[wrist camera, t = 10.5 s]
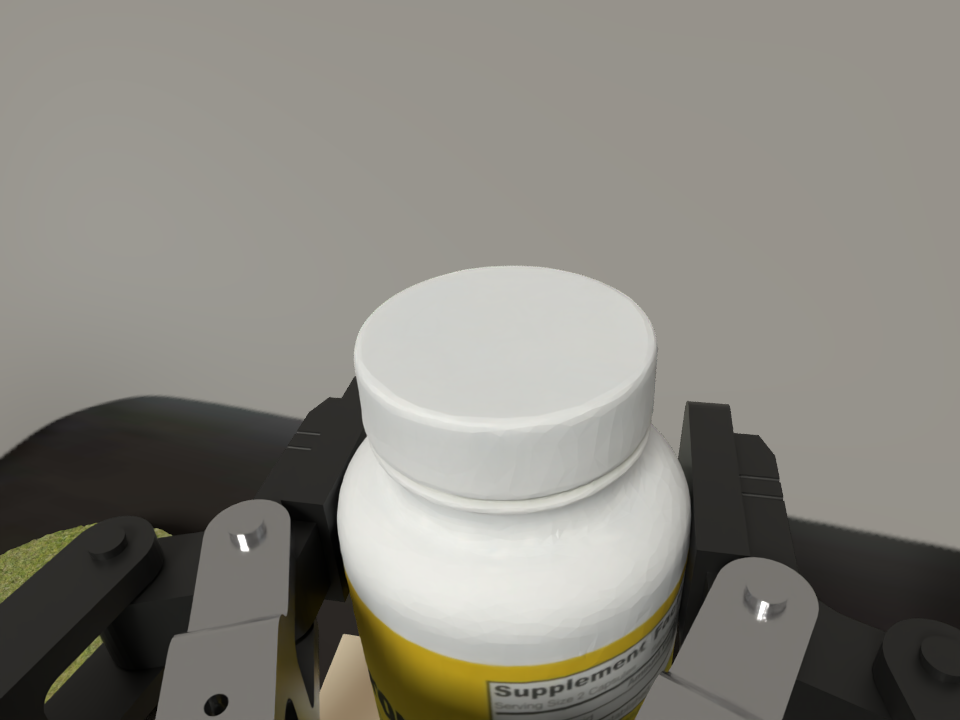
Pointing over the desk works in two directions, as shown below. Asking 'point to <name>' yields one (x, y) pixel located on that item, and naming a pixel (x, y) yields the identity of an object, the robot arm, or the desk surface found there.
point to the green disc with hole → (24, 561)
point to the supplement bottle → (512, 501)
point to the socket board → (348, 685)
